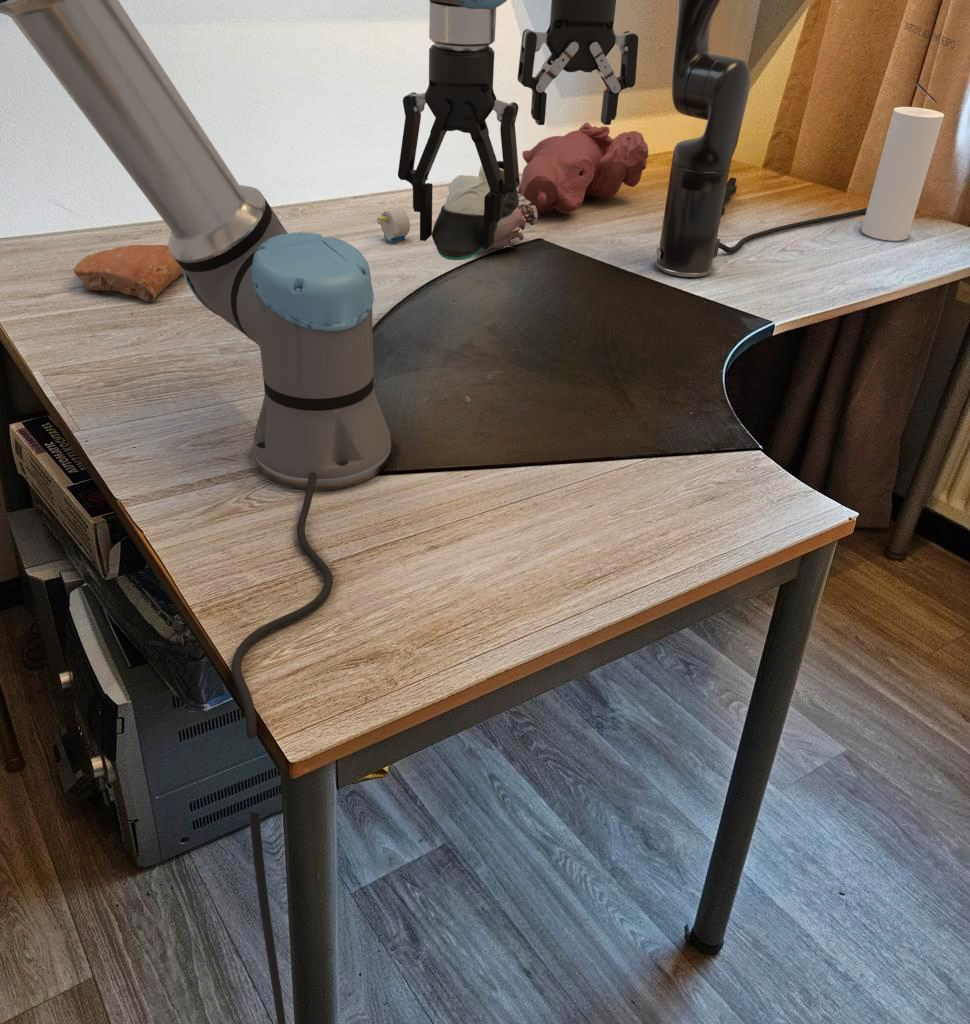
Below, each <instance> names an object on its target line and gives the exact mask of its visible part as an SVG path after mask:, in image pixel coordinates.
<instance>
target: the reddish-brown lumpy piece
mask: <svg viewBox="0 0 970 1024" xmlns="http://www.w3.org/2000/svg"><path fill="white" fill-rule="evenodd" d="M610 130H611V129H610V127H608V126H607V125H602V126H600V127H598V126H592V125H591V124H590V123H589V122H585V123H584V124H581V126H580V127H579V129H576V130H573V131H570V132H568V133H566V134H565V135H554V136H549V137H546V138H544V139H542V140H540V141H539V142H538V143H536V145H535V146H534V147H532V148H531V149H529V150H523V151H522V153H521V156H522V158H523V160H524V162H525V163H526V164H525V166H524V168H523V170H522V172H521V173H522V174H521V180H520V181H521V182H520V184H519V186H518V188H517V193H518V195H520V196H524V198H526V199H527V200H530V201H531V204H530V206H534V205H535V207H536V210H537V214H546V213H549V212H551V211H552V210H553V209H554V208H555V209H556V210H557V211H559V212H560V213H564V214H569V213H573V212H575V211H578V209H579V208H581V206H582V203H584V199H585V195H591V196H593V197H596V198H599V197H604V198H606V197H608V198H610V197H613V196H614V195H617V194H618V192H619V191H620V189H621V186H622V184H624V185H625V186H627V187H631V188H635V187H636V186H637V185H638V184H639V183H640V181H641V178H642V174H643V171H645V170H646V169H647V164H648V161H647V160H648V157H649V146H648V143H647V142H646V141H645V139H644V135H643V134H642V132H638V131H636V130H631V131H628V132H627V131H624V132H621V133H618V135H617V136H615V137H614V138H612V137H611V136H610V135H609V134H610Z"/></svg>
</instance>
